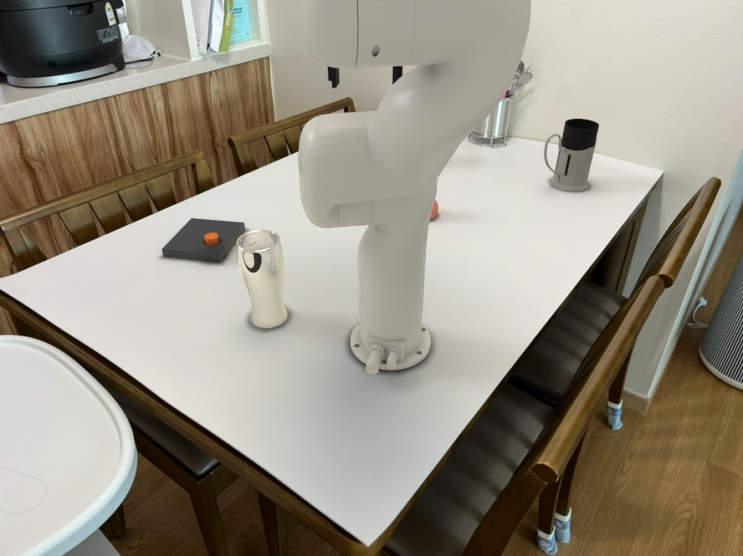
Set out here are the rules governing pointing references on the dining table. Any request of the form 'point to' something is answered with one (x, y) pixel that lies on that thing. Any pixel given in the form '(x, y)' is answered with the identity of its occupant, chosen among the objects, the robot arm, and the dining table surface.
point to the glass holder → (574, 154)
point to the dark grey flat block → (203, 240)
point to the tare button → (211, 239)
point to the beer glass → (263, 276)
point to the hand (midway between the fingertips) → (365, 86)
